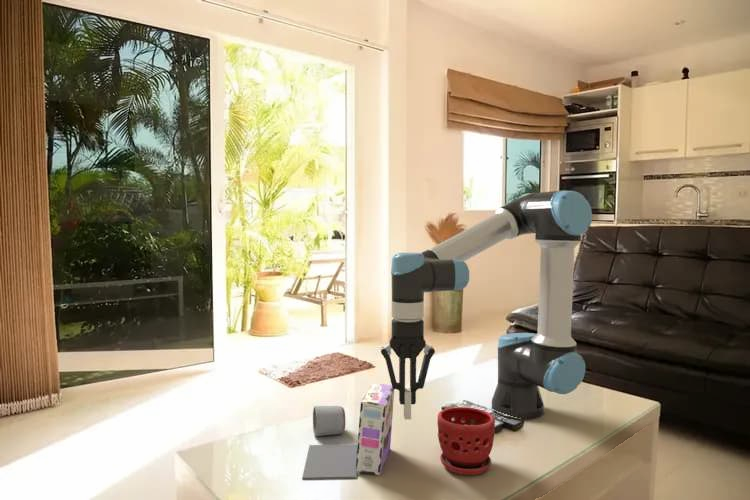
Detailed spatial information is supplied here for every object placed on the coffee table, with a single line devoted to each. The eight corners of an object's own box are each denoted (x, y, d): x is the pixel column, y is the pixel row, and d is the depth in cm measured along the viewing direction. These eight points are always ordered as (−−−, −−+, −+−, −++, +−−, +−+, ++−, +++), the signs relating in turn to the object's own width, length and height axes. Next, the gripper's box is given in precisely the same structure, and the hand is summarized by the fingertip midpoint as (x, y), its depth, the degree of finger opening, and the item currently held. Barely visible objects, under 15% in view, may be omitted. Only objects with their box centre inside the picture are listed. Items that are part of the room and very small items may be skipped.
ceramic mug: (346, 437, 132) (346, 408, 132) (315, 441, 130) (315, 411, 130) (339, 422, 142) (339, 395, 142) (310, 425, 140) (310, 398, 140)
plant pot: (505, 474, 113) (506, 422, 112) (451, 483, 109) (452, 429, 108) (477, 449, 125) (477, 402, 124) (428, 456, 121) (428, 408, 121)
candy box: (380, 476, 112) (385, 405, 111) (354, 472, 113) (359, 401, 112) (390, 448, 125) (395, 384, 124) (368, 445, 127) (372, 381, 125)
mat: (357, 445, 127) (357, 444, 127) (356, 478, 111) (356, 476, 111) (309, 446, 127) (309, 445, 127) (302, 479, 111) (302, 477, 111)
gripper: (432, 315, 121) (432, 410, 123) (379, 315, 121) (379, 411, 122) (437, 321, 114) (437, 423, 115) (380, 322, 113) (380, 424, 115)
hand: (407, 417), depth 119 cm, fingers closed
